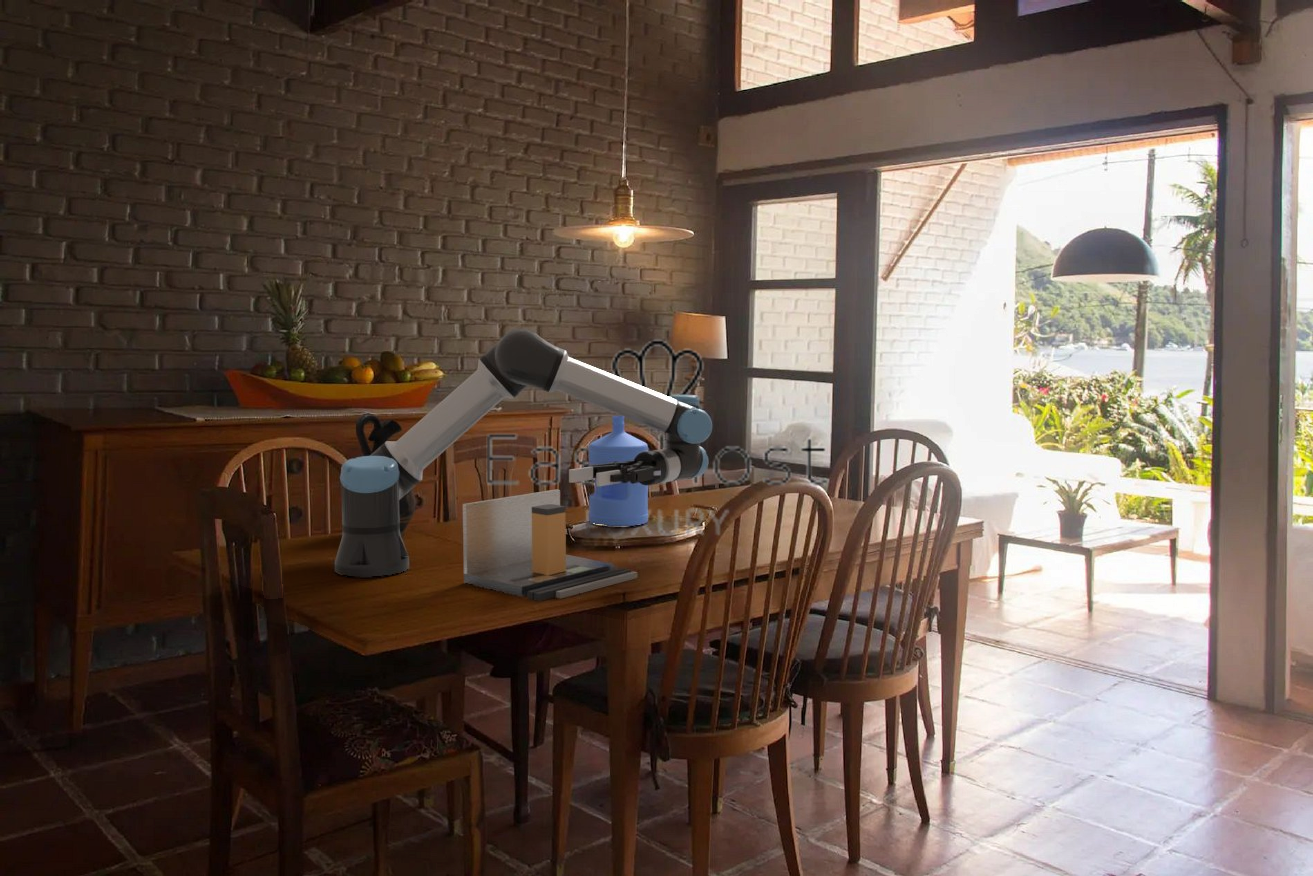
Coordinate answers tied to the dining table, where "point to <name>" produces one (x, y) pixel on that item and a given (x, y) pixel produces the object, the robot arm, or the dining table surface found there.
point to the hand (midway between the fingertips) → (583, 477)
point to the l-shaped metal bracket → (512, 546)
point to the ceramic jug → (378, 437)
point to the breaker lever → (548, 539)
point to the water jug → (622, 499)
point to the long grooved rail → (582, 584)
